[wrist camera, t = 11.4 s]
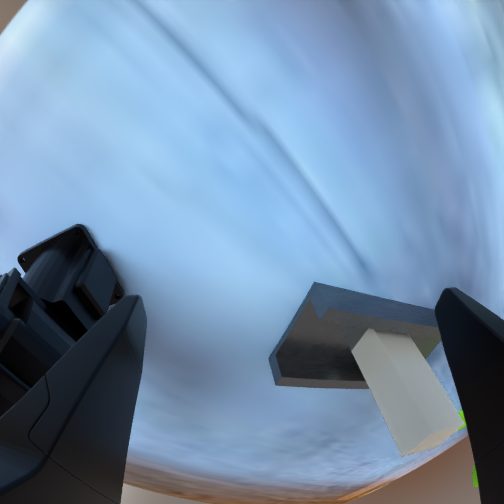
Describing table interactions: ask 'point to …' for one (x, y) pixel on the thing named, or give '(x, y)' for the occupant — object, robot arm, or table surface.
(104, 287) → the robot arm
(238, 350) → the table surface
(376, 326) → the bottom track
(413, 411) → the cream rectangular block
